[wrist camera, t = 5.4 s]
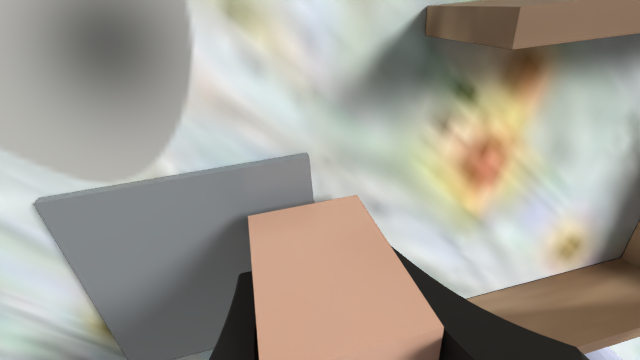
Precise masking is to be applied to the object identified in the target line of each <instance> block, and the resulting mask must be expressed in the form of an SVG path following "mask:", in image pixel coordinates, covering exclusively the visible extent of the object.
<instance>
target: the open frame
mask: <svg viewBox="0 0 640 360" xmlns="http://www.w3.org/2000/svg"><path fill="white" fill-rule="evenodd" d="M637 33H640V0H483V1H473V2H463V3H452V4H442V5H432V6H427V18H426V31H425V36H431V37H437V38H443V39H450V40H456V41H462V42H468V43H474V44H481V45H487V46H493V47H499V48H506V49H512V50H513V49H520V48H528V47H536V46H544V45H551V44H559V43H567V42H575V41H583V40H590V39H598V38H606V37H614V36H621V35H629V34H637ZM466 300H468V301H470V302H472V303H473V304H475V305H477V306H479V307H481V308H483V309H485V310H487V311H489V312H491V313H493V314H495V315H497V316H499V317H501V318H503V319H505V320H507V321H510V322H512V323H514V324H516V325H519V326H521V327H524V328H526V329H529V330H531V331H533V332H536V333H538V334H541V335H544V336H547V337H549V338H552V339H555V340H558V341H561V342H564V343H566V344H569V345H572V346H575V347H577V348H578V349H579V350H580V351H581V352H582V353H583V354H587V353H590V352H593V351H596V350H599V349H602V348H606V347H609V346H612V345H615V344H618V343H621V342H624V341H627V340H630V339H634V338H637V337H640V221H639V223H638V225H637V227H636V229H635V231H634V233H633V235H632V237H631V239H630V241H629V243H628V245H627V247H626V249H625V251H624V253H623V255H622V257H621V258H618V259H614V260H611V261H607V262H603V263H599V264H596V265H592V266H588V267H584V268H581V269H577V270H573V271H569V272H566V273H562V274H558V275H555V276H551V277H547V278H543V279H540V280H536V281H532V282H528V283H525V284H521V285H517V286H513V287H510V288H506V289H502V290H498V291H495V292H491V293H487V294H484V295H480V296H476V297H472V298H469V299H466Z"/></svg>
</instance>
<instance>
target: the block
mask: <svg viewBox="0 0 640 360" xmlns="http://www.w3.org/2000/svg"><path fill="white" fill-rule="evenodd" d="M248 224H249V237H250V250H251V263H252V275H253V288H254V301H255V314H256V326H257V339H258V352H259V360H439V354H440V348H441V343H442V337H443V331H444V326H443V325H442V323H441V322H440V320H439V319H438V317H437V316H436V314H435V313H434V311H433V310H432V308H431V307H430V305H429V304H428V302H427V301H426V299H425V297H424V296H423V294H422V293H421V291H420V290H419V288H418V287H417V285H416V284H415V282H414V281H413V279H412V278H411V276H410V275H409V273H408V272H407V270H406V269H405V267H404V266H403V264H402V263H401V261H400V260H399V258H398V257H397V255H396V254H395V252H394V250H393V249H392V247H391V246H390V244H389V243H388V241H387V240H386V238H385V237H384V235H383V234H382V232H381V231H380V229H379V228H378V226H377V225H376V223H375V222H374V220H373V219H372V217H371V216H370V214H369V213H368V211H367V210H366V208H365V206H364V205H363V203H362V202H361V200H360V199H359V197H358V196H357V195H354V196H348V197H343V198H338V199H333V200H328V201H323V202H318V203H312V204H307V205H302V206H297V207H292V208H287V209H282V210H276V211H271V212H266V213H261V214H256V215H251V216H248Z"/></svg>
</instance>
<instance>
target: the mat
mask: <svg viewBox="0 0 640 360" xmlns="http://www.w3.org/2000/svg"><path fill="white" fill-rule="evenodd" d="M312 203H314V200H313V190H312V181H311V171H310V161H309V156H308V154H307V153H303V154H297V155H291V156H285V157H279V158H273V159H267V160H261V161H255V162H250V163H244V164H238V165H232V166H226V167H220V168H214V169H208V170H202V171H196V172H190V173H184V174H178V175H173V176H167V177H161V178H155V179H149V180H143V181H137V182H131V183H125V184H119V185H113V186H107V187H101V188H95V189H90V190H84V191H78V192H72V193H66V194H60V195H54V196H48V197H42V198H38V199H37V200H36V201H35V202H34V203H33V204H34V206H35V208H36V209H37V211H38V213H39V214H40V216H41V217H42V219H43V221H44V222H45V224H46V226H47V227H48V229H49V231H50V232H51V234H52V236H53V237H54V239H55V241H56V242H57V244H58V246H59V247H60V249H61V251H62V252H63V254H64V255H65V257H66V259H67V260H68V262H69V264H70V265H71V267H72V269H73V270H74V272H75V274H76V275H77V277H78V279H79V280H80V282H81V284H82V285H83V287H84V289H85V290H86V292H87V294H88V295H89V297H90V298H91V300H92V302H93V303H94V305H95V307H96V308H97V310H98V312H99V313H100V315H101V317H102V318H103V320H104V322H105V323H106V325H107V327H108V328H109V330H110V332H111V333H112V335H113V336H114V338H115V340H116V341H117V343H118V345H119V346H120V348H121V350H122V351H123V353H124V355H125V356H126V358H127V360H173V359H177V358H180V357H184V356H188V355H192V354H196V353H200V352H204V351H207V350H211V349H214V348H215V346H216V344H217V341H218V339H219V336H220V334H221V331H222V329H223V326H224V324H225V321H226V318H227V315H228V312H229V309H230V306H231V303H232V300H233V297H234V293H235V289H236V285H237V280H238V276H239V275H240V273H245V272H249V271H252V263H251V250H250V237H249V224H248V216H251V215H256V214H261V213H266V212H271V211H276V210H282V209H287V208H292V207H297V206H302V205H307V204H312Z"/></svg>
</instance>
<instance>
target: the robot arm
mask: <svg viewBox="0 0 640 360" xmlns="http://www.w3.org/2000/svg"><path fill="white" fill-rule="evenodd" d="M390 246H391V245H390ZM391 247H392V246H391ZM392 249H393V250H394V252H395V254H396V255H397V257H398V258H399V260H400V261H401V263H402V264H403V266H404V267H405V269H406V270H407V272H408V273H409V275H410V276H411V278H412V279H413V281H414V282H415V284H416V285H417V287H418V288H419V290H420V291H421V293H422V294H423V296H424V297H425V299H426V301H427V302H428V304H429V305H430V307H431V308H432V310H433V311H434V313H435V314H436V316H437V317H438V319H439V320H440V322H441V323H442V325H443V326H444V331H443V337H442V343H441V348H440V354H439V360H622V359H621V358H620V357H619V356H618V355H617V354H616V353H615V352H614V351H612V350H611V349H610V348H609V347H606V348H602V349H599V350H596V351H593V352H590V353H587V354H583V353H582V352H581V351H580V350H579V349H578V348H577V347H575V346H572V345H569V344H566V343H564V342H561V341H558V340H555V339H552V338H549V337H547V336H544V335H541V334H538V333H536V332H533V331H531V330H529V329H526V328H524V327H521V326H519V325H516V324H514V323H512V322H510V321H507V320H505V319H503V318H501V317H499V316H497V315H495V314H493V313H491V312H489V311H487V310H485V309H483V308H481V307H479V306H477V305H475V304H473V303H472V302H470V301H468V300H466V299H465V298H463V297H461V296H459V295H458V294H456V293H454V292H453V291H451V290H450V289H448V288H446V287H445V286H443V285H442V284H440V283H439V282H437V281H436V280H435V279H433V278H432V277H430V276H429V275H428V274H426V273H425V272H424V271H422V270H421V269H420V268H418V267H417V266H416V265H414V264H413V263H412V262H410V261H409V260H408V259H407V258H405V257H404V256H403V255H402V254H400V253H399V252H398V251H397V250H395V249H394V248H393V247H392ZM209 360H259V352H258V339H257V326H256V314H255V301H254V288H253V275H252V271H249V272H245V273H240V275H239V276H238V280H237V285H236V289H235V293H234V297H233V300H232V303H231V306H230V309H229V312H228V315H227V318H226V321H225V324H224V326H223V329H222V331H221V334H220V336H219V339H218V341H217V344H216V346H215V348H214V350H213V353H212V355H211V357H210V359H209Z"/></svg>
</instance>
